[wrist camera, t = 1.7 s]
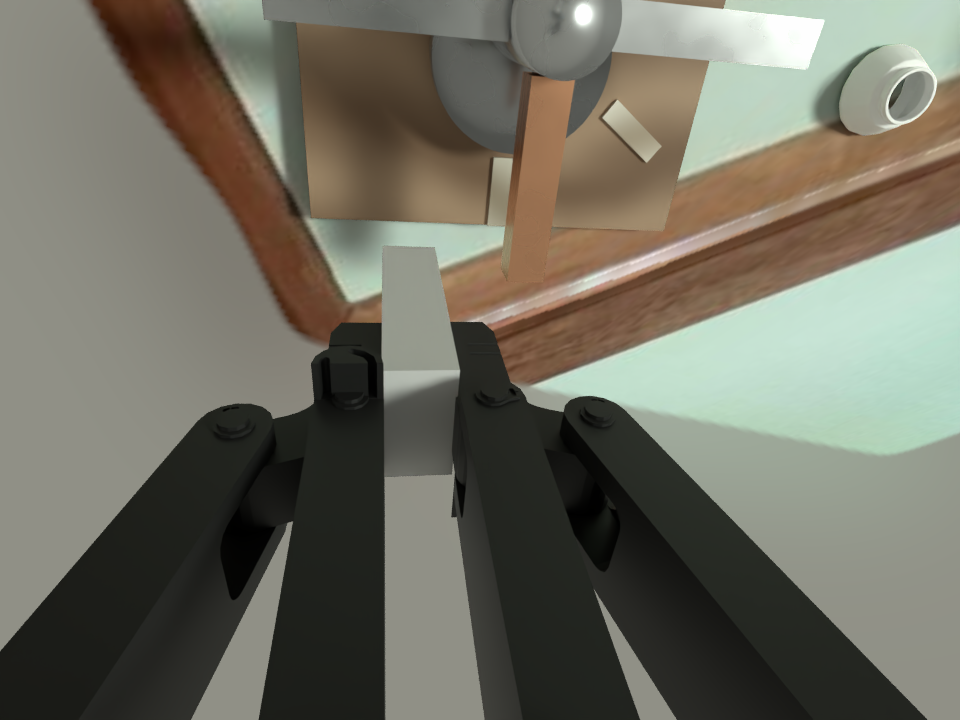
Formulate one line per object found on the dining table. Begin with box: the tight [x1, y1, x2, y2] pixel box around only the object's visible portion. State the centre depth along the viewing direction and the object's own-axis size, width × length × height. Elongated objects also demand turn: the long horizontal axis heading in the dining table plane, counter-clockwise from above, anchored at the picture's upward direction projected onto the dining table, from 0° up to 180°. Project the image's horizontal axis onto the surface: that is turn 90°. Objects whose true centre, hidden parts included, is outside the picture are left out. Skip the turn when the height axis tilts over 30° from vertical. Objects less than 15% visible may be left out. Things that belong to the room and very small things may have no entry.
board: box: [296, 0, 726, 231], centre depth 29 cm, size 22×22×2 cm
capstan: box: [262, 0, 825, 283], centre depth 24 cm, size 22×22×9 cm
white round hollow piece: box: [839, 44, 937, 136], centre depth 34 cm, size 5×3×5 cm
